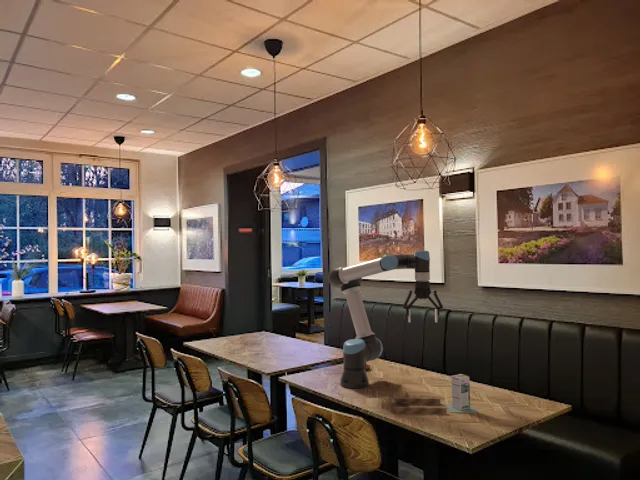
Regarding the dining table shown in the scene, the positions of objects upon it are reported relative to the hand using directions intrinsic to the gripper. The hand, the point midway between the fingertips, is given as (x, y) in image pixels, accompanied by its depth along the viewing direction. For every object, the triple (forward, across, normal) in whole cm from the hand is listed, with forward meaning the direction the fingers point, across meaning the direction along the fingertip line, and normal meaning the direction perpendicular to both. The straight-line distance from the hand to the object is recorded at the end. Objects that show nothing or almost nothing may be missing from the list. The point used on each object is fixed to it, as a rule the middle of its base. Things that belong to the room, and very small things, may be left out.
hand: (422, 322), depth 253 cm
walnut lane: (+35, -8, -29) cm, 46 cm away
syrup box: (+35, +12, -29) cm, 47 cm away
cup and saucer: (+35, -30, +46) cm, 65 cm away
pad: (+35, +12, -29) cm, 47 cm away
